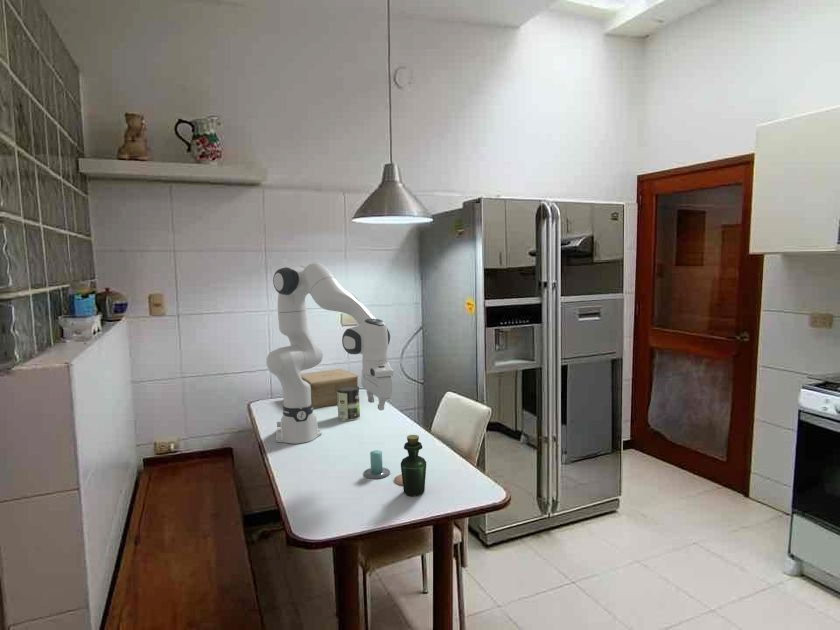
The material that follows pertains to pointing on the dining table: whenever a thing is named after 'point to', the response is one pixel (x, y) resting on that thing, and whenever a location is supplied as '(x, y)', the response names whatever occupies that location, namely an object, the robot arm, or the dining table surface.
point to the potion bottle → (413, 468)
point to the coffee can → (348, 403)
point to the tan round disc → (398, 480)
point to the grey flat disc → (372, 476)
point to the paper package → (328, 385)
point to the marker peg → (376, 462)
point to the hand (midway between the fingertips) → (376, 405)
